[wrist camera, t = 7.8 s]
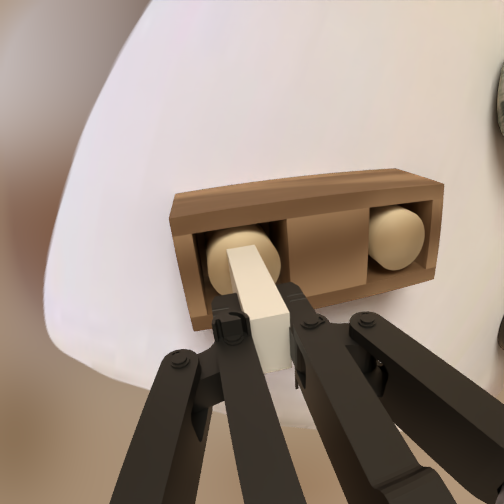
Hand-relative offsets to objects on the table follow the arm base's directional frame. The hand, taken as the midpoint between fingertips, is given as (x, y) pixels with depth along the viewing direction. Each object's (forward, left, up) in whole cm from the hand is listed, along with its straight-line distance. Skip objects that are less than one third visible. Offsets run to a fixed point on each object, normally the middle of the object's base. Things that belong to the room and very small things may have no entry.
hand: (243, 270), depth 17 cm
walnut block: (0, -5, -6) cm, 8 cm away
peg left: (0, 0, -6) cm, 6 cm away
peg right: (0, -10, -6) cm, 12 cm away
